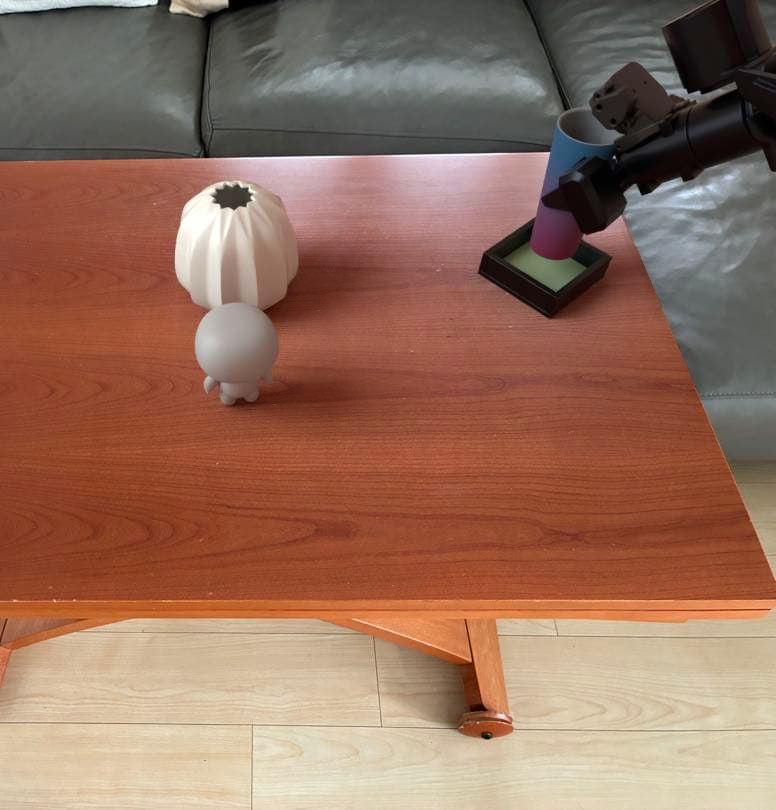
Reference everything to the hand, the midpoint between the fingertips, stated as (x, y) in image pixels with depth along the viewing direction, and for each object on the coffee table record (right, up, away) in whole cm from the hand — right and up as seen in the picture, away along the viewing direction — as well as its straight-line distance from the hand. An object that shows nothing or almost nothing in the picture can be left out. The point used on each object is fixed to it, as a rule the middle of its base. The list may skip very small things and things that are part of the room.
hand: (559, 188), depth 82 cm
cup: (+1, -5, +5) cm, 7 cm away
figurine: (-34, -23, -1) cm, 41 cm away
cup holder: (+1, -8, +9) cm, 12 cm away
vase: (-34, -9, +9) cm, 37 cm away
